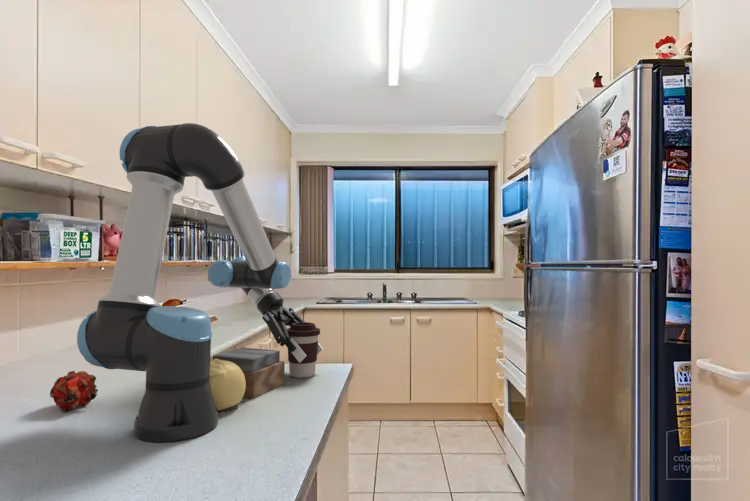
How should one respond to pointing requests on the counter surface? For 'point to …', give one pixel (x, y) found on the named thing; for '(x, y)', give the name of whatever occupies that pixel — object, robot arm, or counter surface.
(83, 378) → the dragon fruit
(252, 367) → the gray topped wooden block
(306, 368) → the coffee cup
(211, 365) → the pale yellow round lump
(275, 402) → the counter surface
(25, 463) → the counter surface
